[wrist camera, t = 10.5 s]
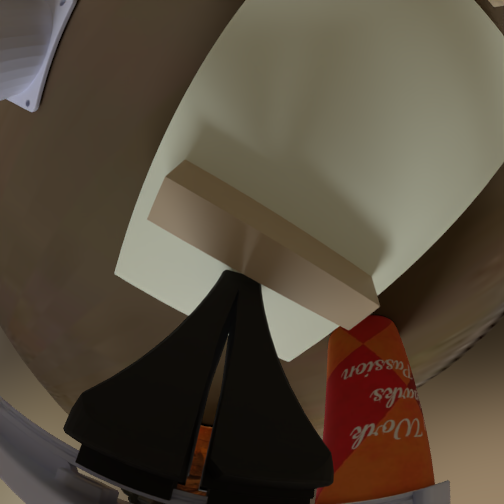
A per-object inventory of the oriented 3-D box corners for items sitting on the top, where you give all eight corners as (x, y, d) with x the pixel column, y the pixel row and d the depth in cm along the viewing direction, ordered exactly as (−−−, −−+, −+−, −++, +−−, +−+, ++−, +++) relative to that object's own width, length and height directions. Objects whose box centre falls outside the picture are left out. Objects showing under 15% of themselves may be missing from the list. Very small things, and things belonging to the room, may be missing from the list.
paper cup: (427, 320, 17) (463, 493, 6) (368, 370, 22) (375, 514, 11) (351, 289, 16) (370, 526, 5) (295, 351, 21) (280, 523, 10)
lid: (123, 261, 13) (98, 296, 10) (338, -82, 3) (349, -116, 1) (289, 347, 15) (287, 387, 13) (527, 95, 5) (567, 109, 3)
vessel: (247, 427, 34) (226, 544, 18) (251, 446, 43) (236, 533, 27) (158, 410, 36) (127, 515, 20) (181, 434, 45) (159, 515, 29)
